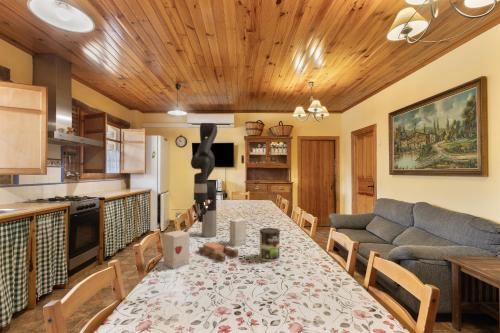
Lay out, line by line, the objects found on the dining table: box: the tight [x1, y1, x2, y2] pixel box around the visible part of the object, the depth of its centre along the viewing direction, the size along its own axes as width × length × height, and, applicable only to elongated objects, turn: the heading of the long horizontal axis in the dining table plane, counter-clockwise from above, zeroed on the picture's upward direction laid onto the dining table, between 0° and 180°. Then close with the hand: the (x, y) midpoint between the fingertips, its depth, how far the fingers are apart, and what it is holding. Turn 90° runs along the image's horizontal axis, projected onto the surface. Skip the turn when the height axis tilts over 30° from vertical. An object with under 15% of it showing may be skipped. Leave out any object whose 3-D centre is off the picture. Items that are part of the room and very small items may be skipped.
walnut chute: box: [198, 246, 239, 262], centre depth 137 cm, size 20×11×4 cm, turn 46°
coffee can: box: [259, 227, 281, 262], centre depth 133 cm, size 10×10×14 cm
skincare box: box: [229, 217, 247, 247], centre depth 155 cm, size 8×6×15 cm
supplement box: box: [162, 230, 190, 270], centre depth 123 cm, size 9×9×15 cm
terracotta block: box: [202, 241, 225, 254], centre depth 139 cm, size 10×6×4 cm, turn 46°
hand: (200, 221), depth 148 cm, fingers closed
